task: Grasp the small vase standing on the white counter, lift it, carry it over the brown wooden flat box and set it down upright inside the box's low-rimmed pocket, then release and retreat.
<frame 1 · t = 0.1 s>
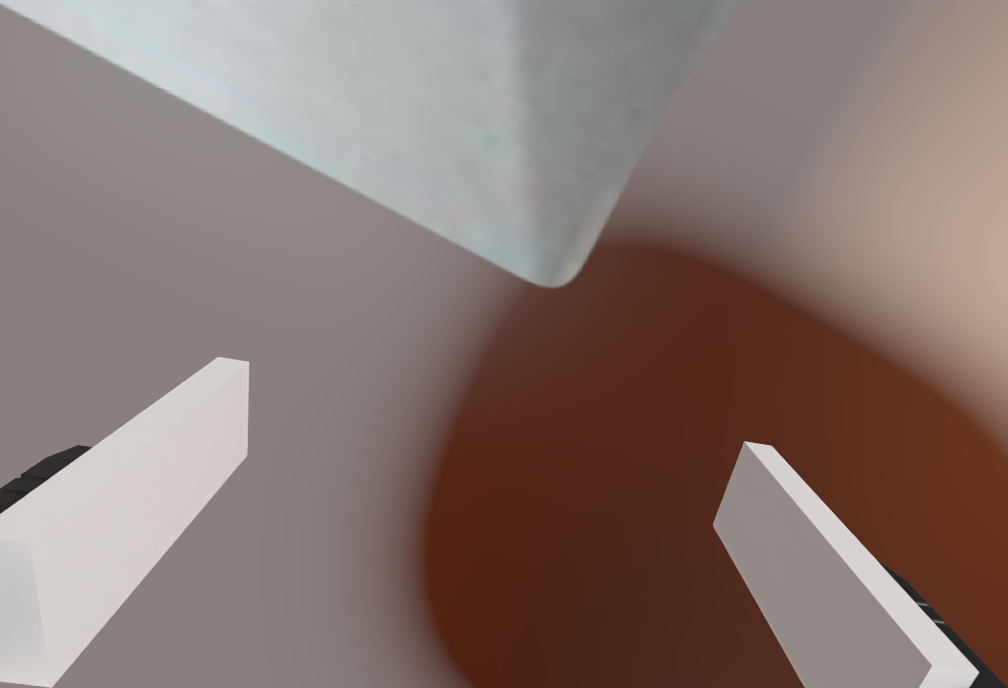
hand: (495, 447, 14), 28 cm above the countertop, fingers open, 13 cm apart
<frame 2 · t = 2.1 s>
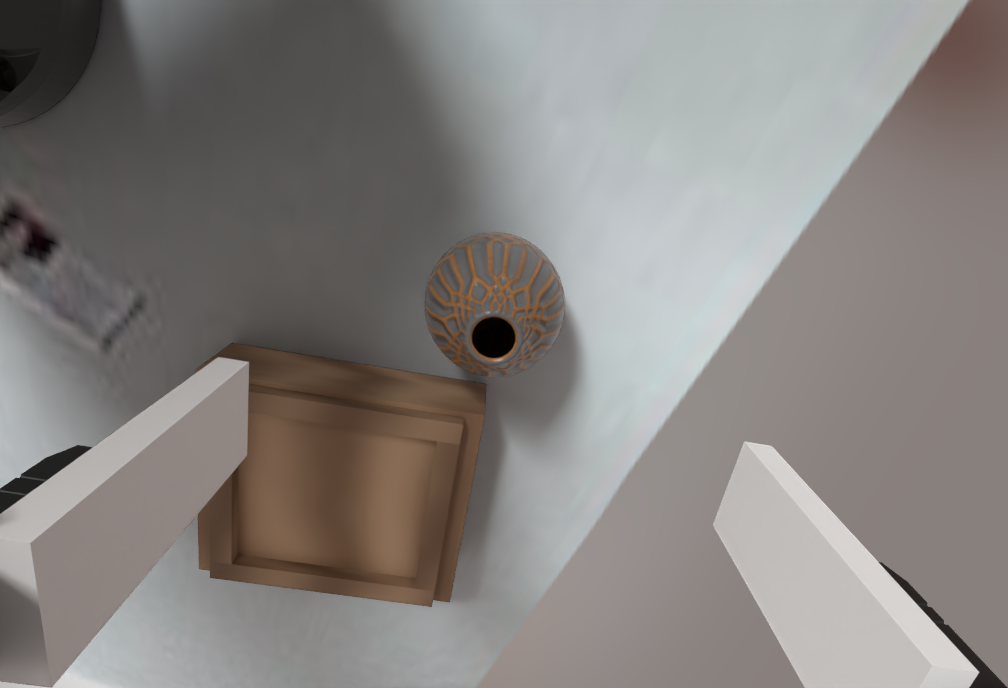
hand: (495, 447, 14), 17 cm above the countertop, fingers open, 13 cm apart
brown wooden flat box: (352, 457, 34), on the countertop
vase: (495, 285, 30), on the countertop
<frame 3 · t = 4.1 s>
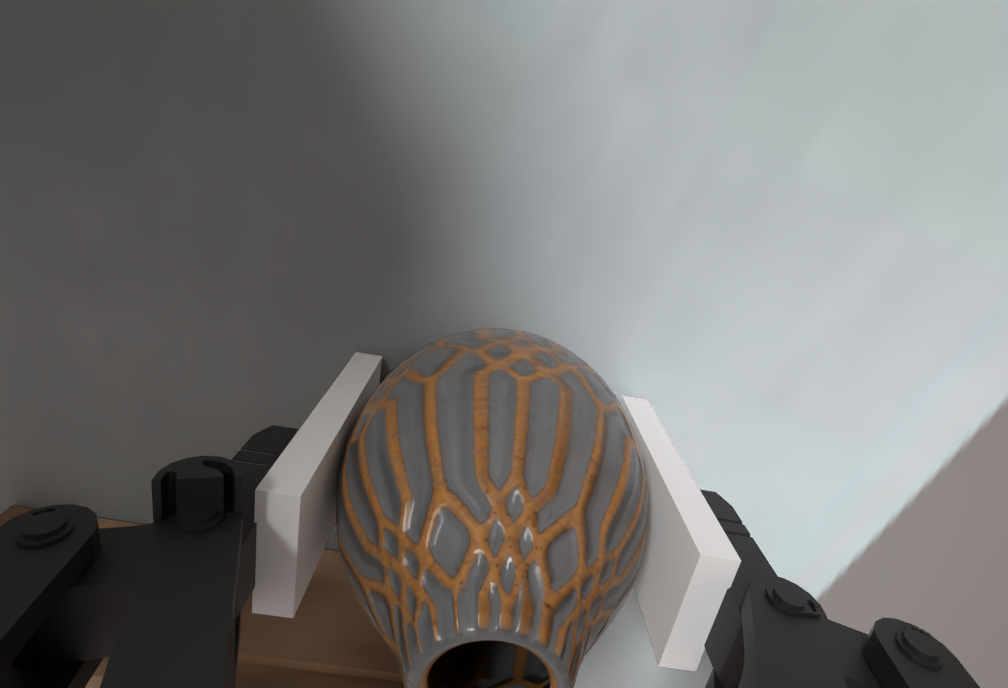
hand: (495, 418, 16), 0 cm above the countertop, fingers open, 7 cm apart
brown wooden flat box: (248, 680, 20), on the countertop
vase: (495, 407, 16), on the countertop, touching gripper
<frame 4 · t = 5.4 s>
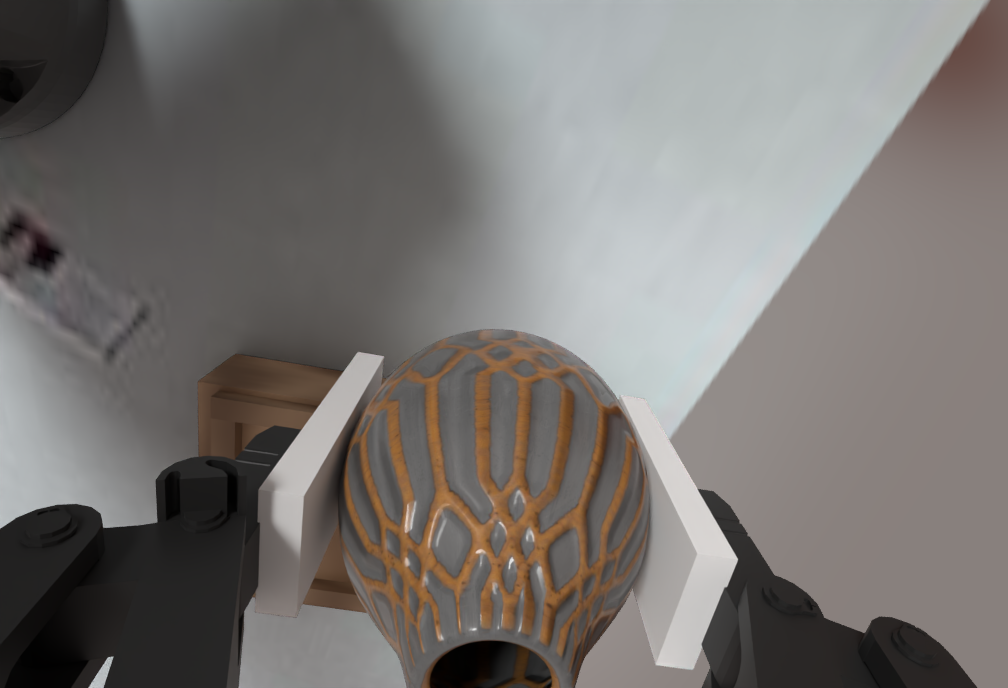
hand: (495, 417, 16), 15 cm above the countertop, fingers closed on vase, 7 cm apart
brown wooden flat box: (355, 469, 33), on the countertop
vase: (496, 408, 16), point 14 cm above the countertop, touching gripper
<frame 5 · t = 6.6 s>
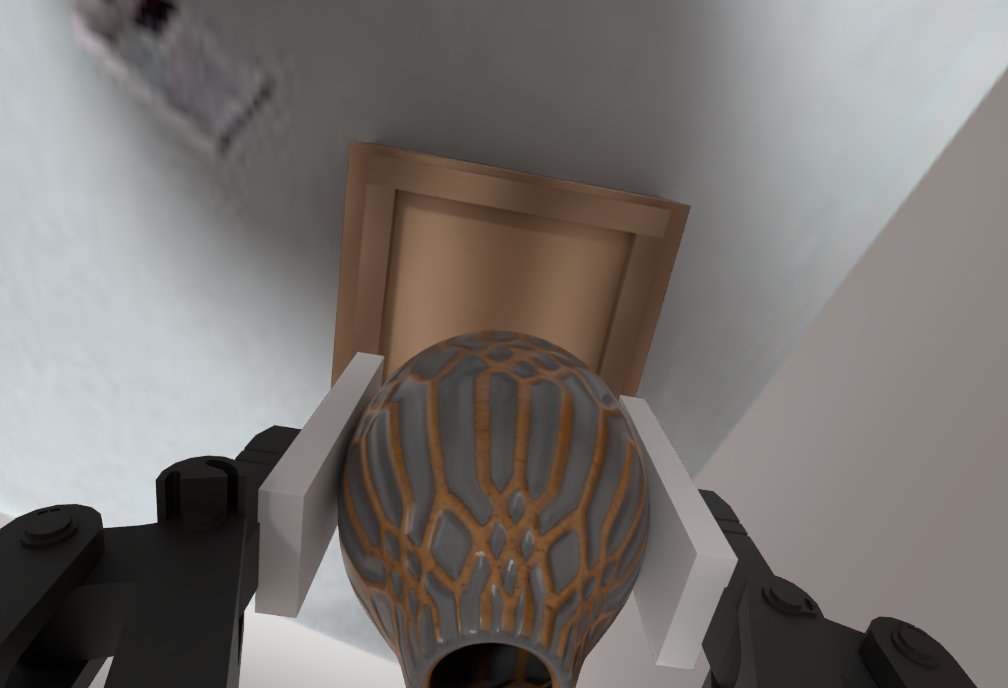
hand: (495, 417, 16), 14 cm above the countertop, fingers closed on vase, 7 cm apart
brown wooden flat box: (498, 294, 29), on the countertop
vase: (496, 409, 16), point 14 cm above the countertop, touching gripper
when the fingers open (6 cm above the countertop, at t = 8.3 s): vase drops 2 cm, resting on brown wooden flat box.
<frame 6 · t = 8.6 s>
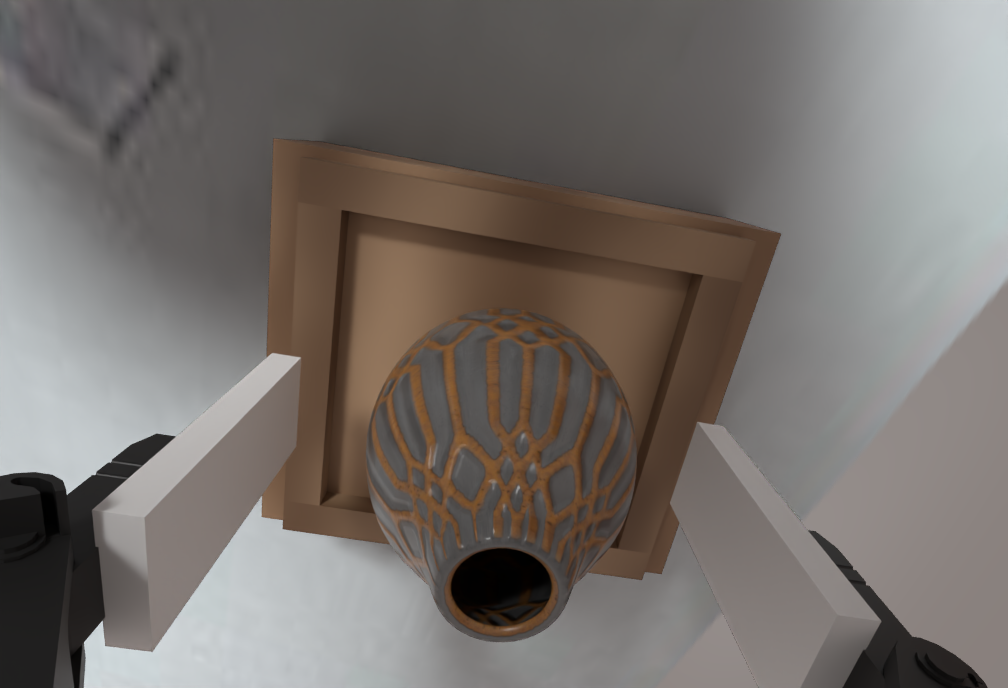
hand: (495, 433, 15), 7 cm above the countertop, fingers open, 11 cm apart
brown wooden flat box: (497, 347, 21), on the countertop
vase: (501, 383, 18), point 4 cm above the countertop, touching brown wooden flat box
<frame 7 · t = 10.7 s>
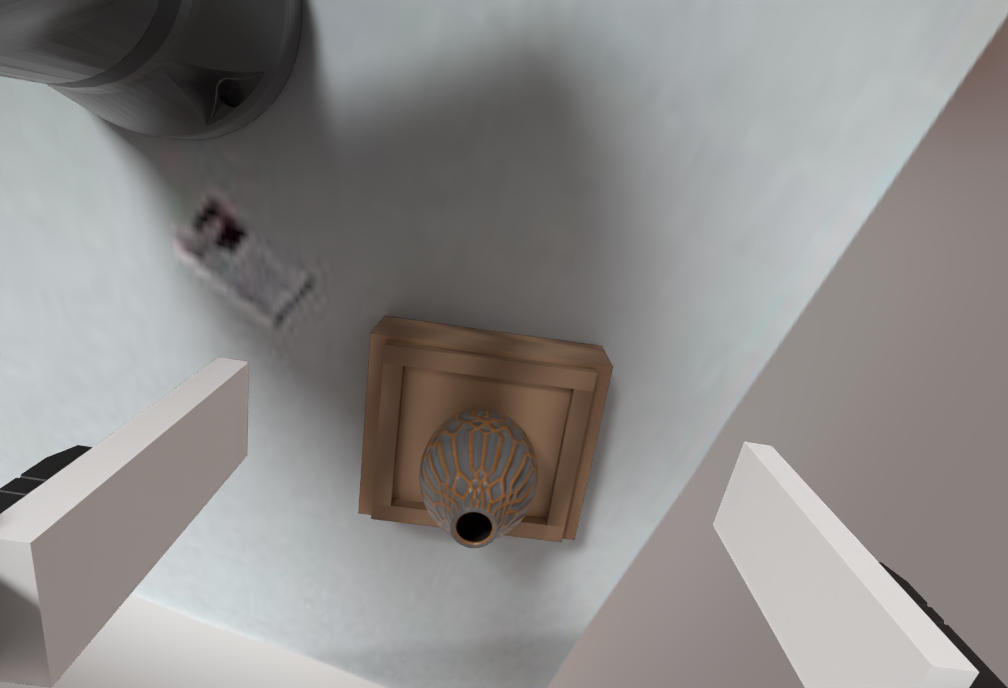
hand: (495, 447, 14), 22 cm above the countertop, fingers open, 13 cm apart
brown wooden flat box: (481, 416, 38), on the countertop
vase: (481, 440, 35), point 4 cm above the countertop, touching brown wooden flat box
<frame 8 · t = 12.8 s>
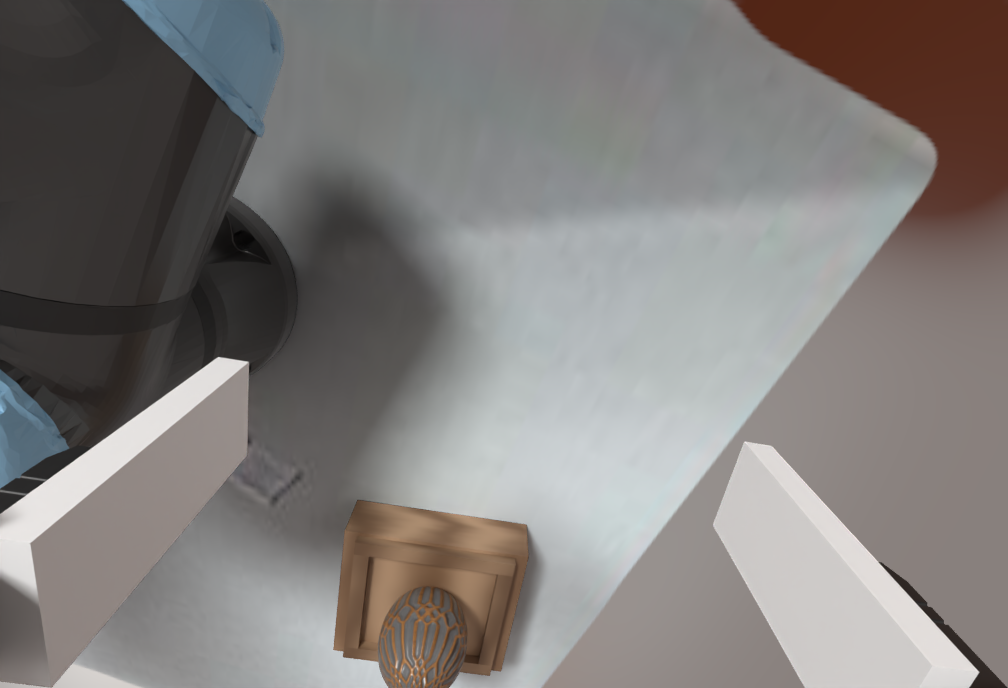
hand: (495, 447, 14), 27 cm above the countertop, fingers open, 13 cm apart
brown wooden flat box: (433, 570, 49), on the countertop
vase: (429, 602, 45), point 4 cm above the countertop, touching brown wooden flat box
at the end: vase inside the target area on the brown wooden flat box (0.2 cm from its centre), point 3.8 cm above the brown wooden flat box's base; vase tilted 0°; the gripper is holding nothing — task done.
